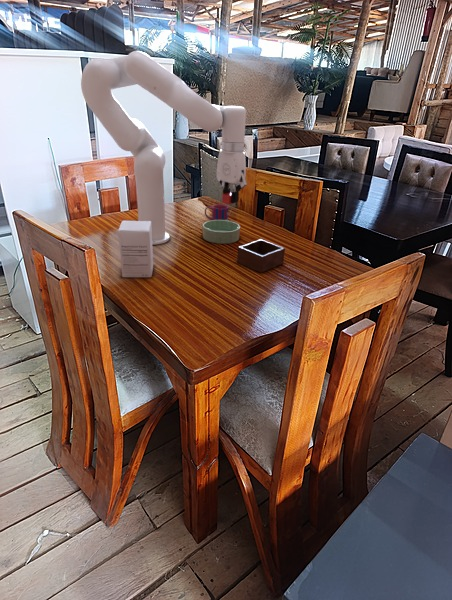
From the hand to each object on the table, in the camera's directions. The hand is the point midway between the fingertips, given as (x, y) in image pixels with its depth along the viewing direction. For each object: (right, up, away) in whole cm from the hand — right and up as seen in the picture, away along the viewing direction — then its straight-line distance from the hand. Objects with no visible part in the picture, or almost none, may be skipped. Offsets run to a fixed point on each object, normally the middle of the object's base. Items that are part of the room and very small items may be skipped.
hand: (230, 200), depth 143 cm
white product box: (-29, -27, -19) cm, 44 cm away
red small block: (0, 0, 0) cm, 1 cm away
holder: (+10, -23, -9) cm, 27 cm away
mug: (-6, -3, +27) cm, 27 cm away
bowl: (-4, -11, +11) cm, 16 cm away
